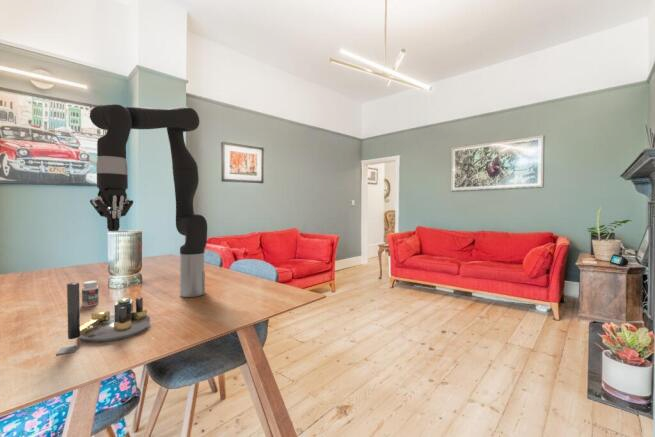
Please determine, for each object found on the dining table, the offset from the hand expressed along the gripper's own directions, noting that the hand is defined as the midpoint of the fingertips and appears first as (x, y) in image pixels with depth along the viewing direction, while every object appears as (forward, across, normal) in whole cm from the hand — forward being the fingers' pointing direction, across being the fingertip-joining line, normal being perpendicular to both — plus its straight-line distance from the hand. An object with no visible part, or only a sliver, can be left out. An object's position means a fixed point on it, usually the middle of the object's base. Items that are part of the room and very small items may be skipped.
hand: (113, 230), depth 90 cm
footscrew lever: (+26, -8, +1) cm, 28 cm away
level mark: (+29, -16, -3) cm, 33 cm away
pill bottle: (+29, +14, +25) cm, 41 cm away
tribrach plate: (+29, -3, -3) cm, 29 cm away
